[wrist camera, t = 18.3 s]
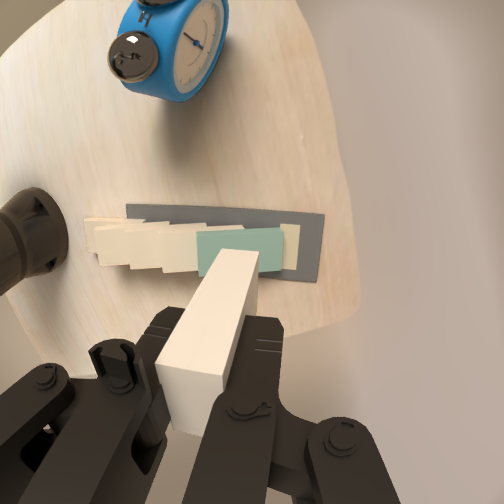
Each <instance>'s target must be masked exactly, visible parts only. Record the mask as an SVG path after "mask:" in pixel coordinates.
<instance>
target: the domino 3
mask: <svg viewBox="0 0 504 504" xmlns="http://www.w3.org/2000/svg"><path fill="white" fill-rule="evenodd" d="M191 227H207V225H206V223H190V224H174V225H159V226H145V227H132V228H127V230H126V241H127V248H128V256H129V263H130V269H131V270H132V269H146V268H161V267H162V259H161V249H160V238H159V232H160V229H174V228H191Z"/></svg>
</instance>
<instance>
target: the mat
mask: <svg viewBox="0 0 504 504" xmlns="http://www.w3.org/2000/svg"><path fill="white" fill-rule="evenodd" d="M126 214H127V219H146V223H148V222H163V221H169V222H170V225H174V224H190V223H206V225H207V227H208V226H227V225H243V227H244V229H255V228H278V227H280V228H281V229H282V230H283V231H284V237H283V251H282V265H281V270H279V271H267V272H258V277H262V278H273V279H286V280H298V281H311V282H316V281H317V273H318V266H319V258H320V250H321V242H322V233H323V224H324V214H315V213H302V212H289V211H276V210H261V209H244V208H226V207H206V206H181V205H147V204H126ZM161 268H162V267H161ZM197 272H198V271H197Z"/></svg>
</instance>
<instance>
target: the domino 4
mask: <svg viewBox="0 0 504 504" xmlns="http://www.w3.org/2000/svg"><path fill="white" fill-rule="evenodd" d="M234 229H244V227H243V225H227V226H208V227H191V228H174V229H160V232H159V238H160V249H161V259H162V269H163V273H171V272H186V271H198V262H197V240H196V232H197V231H215V230H234Z"/></svg>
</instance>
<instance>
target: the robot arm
mask: <svg viewBox="0 0 504 504" xmlns="http://www.w3.org/2000/svg"><path fill="white" fill-rule="evenodd" d="M67 249H68V235H67V229H66V224H65V221H64V218H63V216H62V213H61V211H60V209H59V207H58V205H57V204H56V202H55V201H54V200H53V198H52V197H51V196H50V195H49V194H48V193H47V192H45V191H44V190H42V189H39V188H35V187H32V188H28V189H25V190H23V191H20V192H19V193H17V194H16V195H15V196H14V197H13V198H11V199H10V200H9V201H8V202H7V203H6V204H5V205H4V206H3V207H2V208H1V209H0V296H2V295H3V294H4V293H5V292H7V291H8V290H9V289H11V288H12V287H13V286H15V285H16V284H17V283H19V282H20V281H21V280H23V279H24V278H28V277H33V276H38V275H42V274H47V273H50V272H52V271H53V270H54V269H56V268H57V267H59V266H60V265H61V264H62V263H63V261H64V259H65V257H66V254H67ZM258 272H259V251H247V250H235V249H221V250H220V252H219V254H218V255H217V257H216V259H215V260H214V262H213V264H212V265H211V267H210V269H209V270H208V272H207V274H206V275H205V277H204V279H203V280H202V282H201V284H200V286H199V287H198V289H197V291H196V292H195V294H194V296H193V297H192V299H191V301H190V303H189V304H188V306H187V308H186V309H183V308H176V307H169V306H168V307H167V308H165V309H164V310H162V311H161V312H159V313H158V314H156V316H155V317H154V319H153V320H152V322H151V323H150V326H148V327H147V329H146V330H145V332H144V335H142V336H141V338H140V339H139V341H138V342H137V344H136V345H135V344H134V343H133V342H130V341H128V340H125V339H110V340H104V341H102V342H100V343H98V344H95V345H94V346H93V347H92V348H91V349H90V350H88V352H89V355H90V357H91V360H92V362H93V365H94V367H95V370H96V372H97V375H98V377H97V379H77V378H70V377H69V375H68V373H67V371H66V370H65V369H64V367H63V366H61V365H58V364H56V363H46V364H42V365H39V366H37V367H36V368H34V369H33V370H31V371H30V372H29V373H27V374H26V375H25V376H24V377H22V378H21V379H20V380H19V381H17V382H16V383H15V384H13V385H12V386H11V387H10V388H8V389H7V390H6V391H5V392H4V393H3V394H1V395H0V504H145V501H146V498H147V496H148V493H149V490H150V488H151V485H152V483H153V480H154V478H155V475H156V472H157V470H158V467H159V465H160V462H161V459H162V457H163V454H164V452H165V449H166V447H167V437H166V435H165V431H166V429H167V427H168V424H169V422H170V421H171V424H172V427H173V430H175V431H180V432H184V433H189V434H193V435H198V436H203V438H202V441H201V444H200V448H199V451H198V454H197V457H196V460H195V463H194V467H193V470H192V473H191V476H190V479H189V482H188V486H187V488H186V492H185V495H184V498H183V501H182V504H265V498H266V492H267V487H269V488H272V489H275V490H277V491H280V492H283V493H285V494H288V495H291V497H292V502H293V504H401V503H400V501H399V498H398V496H397V493H396V491H395V489H394V486H393V484H392V481H391V479H390V477H389V474H388V472H387V470H386V467H385V465H384V462H383V460H382V458H381V455H380V453H379V451H378V448H377V446H376V444H375V442H374V439H373V437H372V435H371V433H370V432H369V431H368V429H367V428H366V426H364V425H363V424H361V423H360V422H358V421H357V420H354V419H350V418H346V417H332V418H329V419H326V420H323V421H321V422H320V423H318V424H316V423H313V422H310V421H307V420H304V419H301V418H299V417H296V416H294V415H292V414H291V413H290V412H289V411H287V410H286V409H285V408H284V407H283V405H282V404H281V402H280V399H279V394H278V388H279V378H280V367H281V356H282V344H283V333H284V328H283V326H282V325H281V323H280V321H279V319H278V318H272V317H262V316H256V312H257V295H258ZM47 424H48V425H49V426H50V429H43V428H44V427H45V426H46V425H47Z"/></svg>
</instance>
